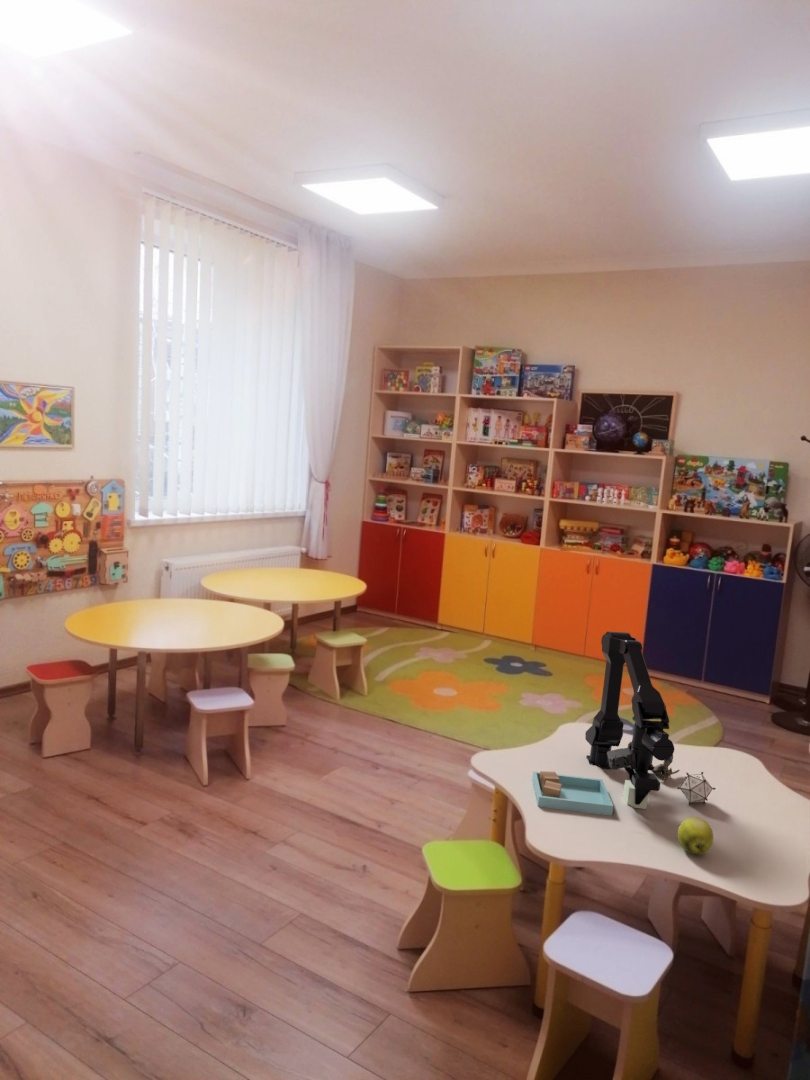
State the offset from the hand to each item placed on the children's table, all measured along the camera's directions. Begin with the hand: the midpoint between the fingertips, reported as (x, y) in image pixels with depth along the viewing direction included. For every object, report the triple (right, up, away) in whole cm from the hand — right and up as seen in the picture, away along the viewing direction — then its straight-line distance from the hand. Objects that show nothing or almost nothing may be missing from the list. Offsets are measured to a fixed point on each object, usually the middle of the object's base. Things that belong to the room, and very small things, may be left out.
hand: (634, 799), depth 205 cm
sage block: (0, -1, 0) cm, 1 cm away
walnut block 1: (-22, +2, +2) cm, 23 cm away
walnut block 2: (-23, +1, -4) cm, 23 cm away
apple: (+7, -5, -21) cm, 23 cm away
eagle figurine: (+14, 0, +19) cm, 23 cm away
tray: (-17, 0, -1) cm, 17 cm away
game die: (+17, -2, +4) cm, 18 cm away
